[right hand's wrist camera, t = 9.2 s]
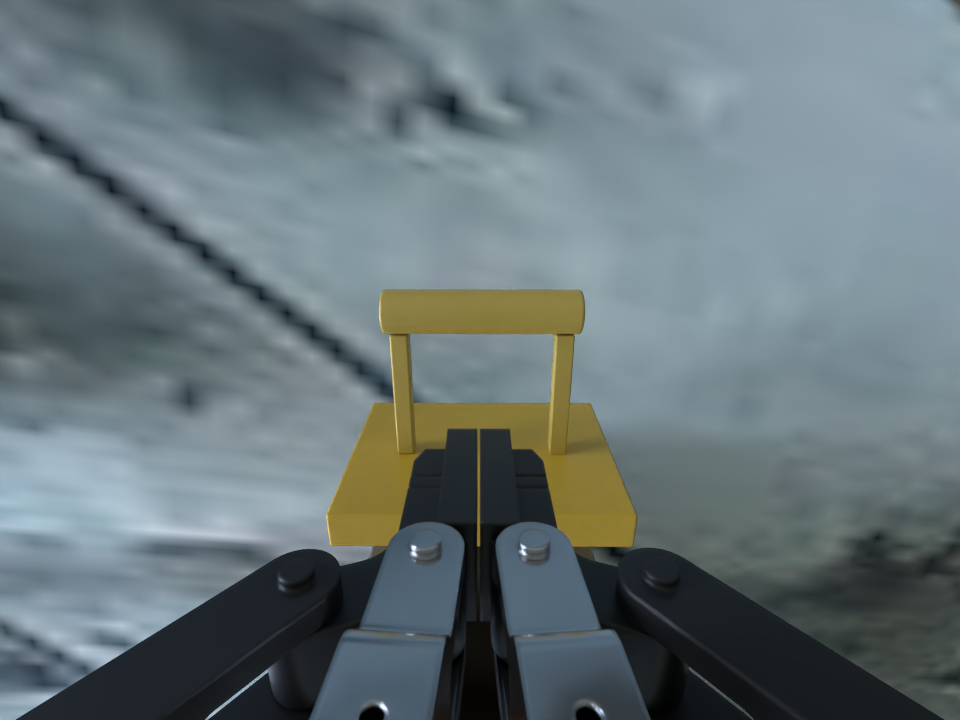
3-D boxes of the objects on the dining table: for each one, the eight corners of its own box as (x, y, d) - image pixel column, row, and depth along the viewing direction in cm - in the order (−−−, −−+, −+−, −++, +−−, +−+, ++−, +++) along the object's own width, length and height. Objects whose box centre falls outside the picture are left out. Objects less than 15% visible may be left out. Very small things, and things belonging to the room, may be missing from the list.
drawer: (360, 265, 20) (297, 327, 13) (603, 264, 20) (665, 327, 13) (399, 698, 29) (374, 864, 23) (563, 699, 29) (588, 865, 23)
